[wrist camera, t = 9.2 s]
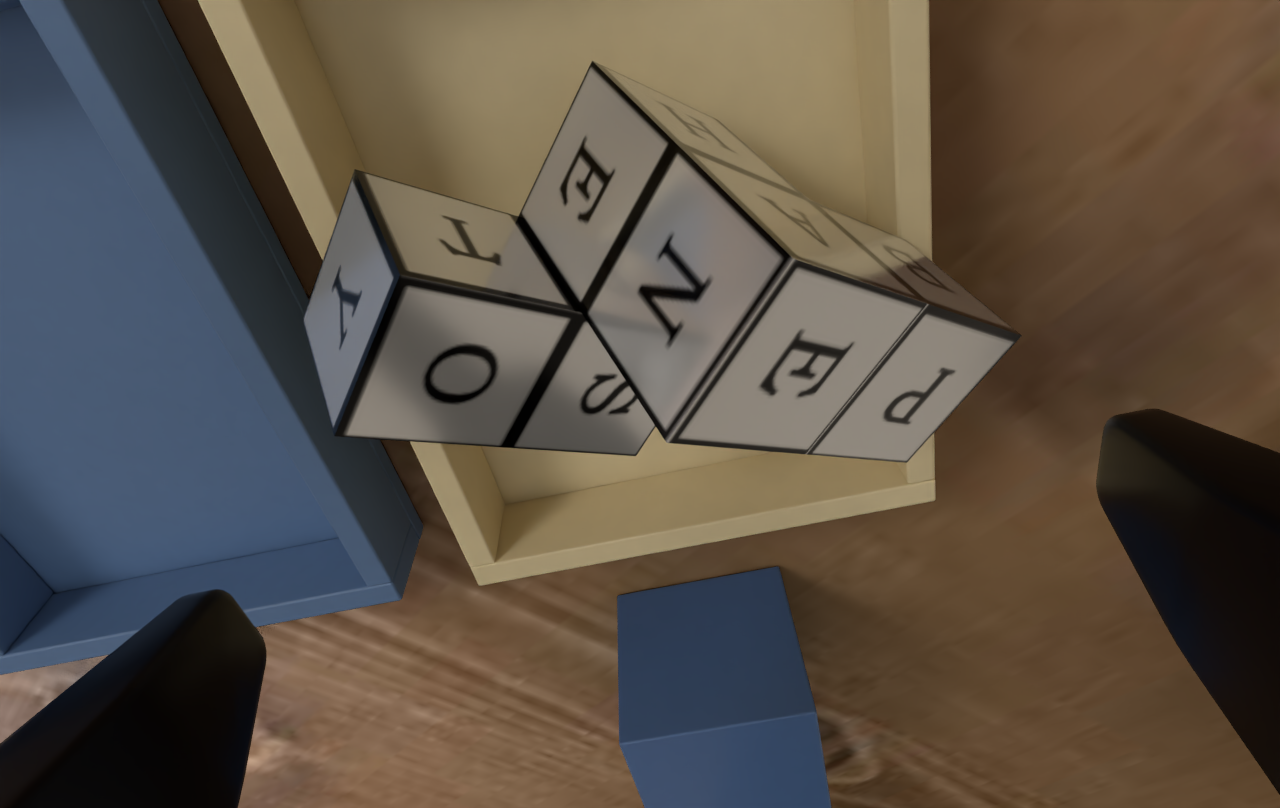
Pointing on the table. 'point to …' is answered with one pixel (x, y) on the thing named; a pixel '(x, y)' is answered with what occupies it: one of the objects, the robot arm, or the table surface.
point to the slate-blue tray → (157, 361)
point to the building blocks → (639, 304)
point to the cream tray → (510, 162)
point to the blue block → (718, 697)
